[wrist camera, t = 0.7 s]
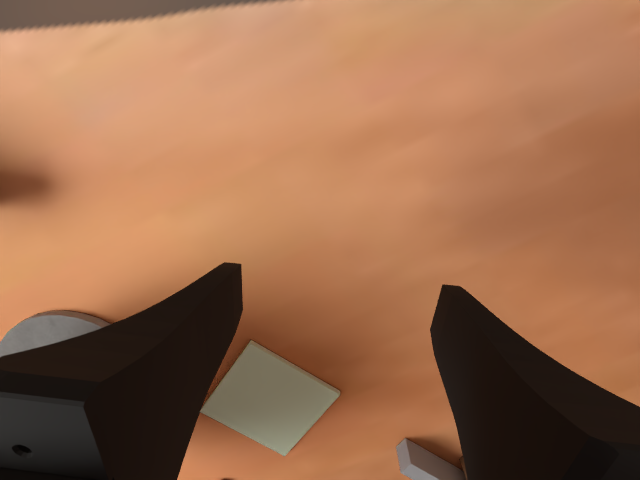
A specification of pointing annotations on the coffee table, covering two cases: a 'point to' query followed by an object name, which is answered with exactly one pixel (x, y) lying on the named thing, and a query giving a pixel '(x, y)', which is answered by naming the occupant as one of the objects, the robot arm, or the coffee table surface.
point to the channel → (425, 464)
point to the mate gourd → (48, 330)
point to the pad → (269, 399)
